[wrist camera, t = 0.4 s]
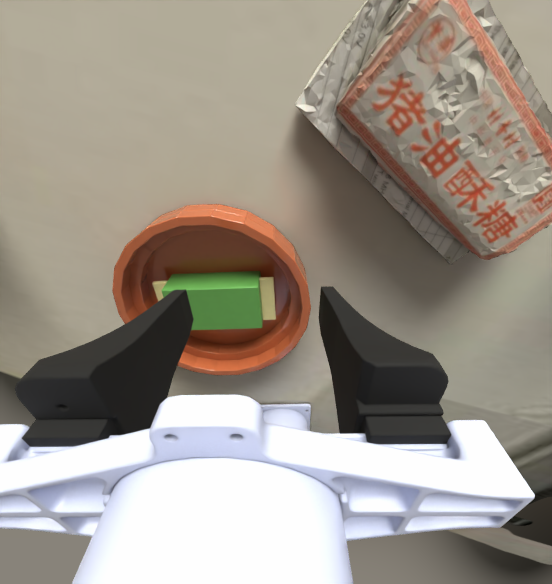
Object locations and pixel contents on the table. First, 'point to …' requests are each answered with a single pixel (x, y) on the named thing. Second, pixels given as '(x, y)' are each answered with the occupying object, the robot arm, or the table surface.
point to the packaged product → (439, 122)
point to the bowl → (209, 259)
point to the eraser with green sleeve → (224, 298)
